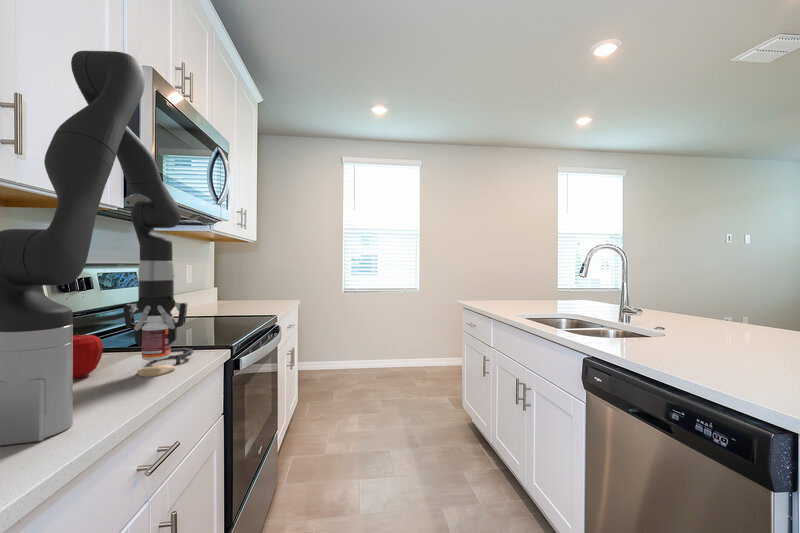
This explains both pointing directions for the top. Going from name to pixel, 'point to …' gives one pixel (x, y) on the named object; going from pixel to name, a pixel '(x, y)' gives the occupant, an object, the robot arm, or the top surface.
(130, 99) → the robot arm
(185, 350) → the ring stand
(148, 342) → the pill bottle
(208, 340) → the top surface
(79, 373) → the apple
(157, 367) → the cork coaster
